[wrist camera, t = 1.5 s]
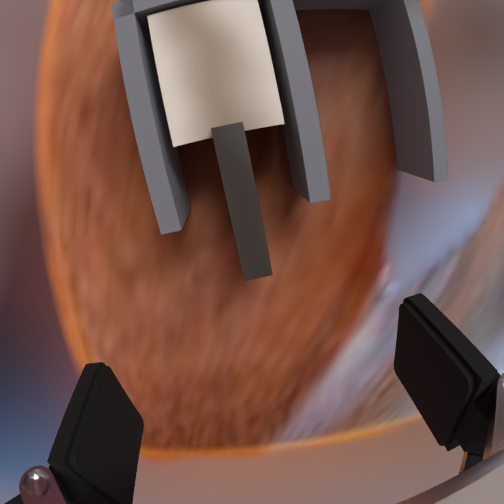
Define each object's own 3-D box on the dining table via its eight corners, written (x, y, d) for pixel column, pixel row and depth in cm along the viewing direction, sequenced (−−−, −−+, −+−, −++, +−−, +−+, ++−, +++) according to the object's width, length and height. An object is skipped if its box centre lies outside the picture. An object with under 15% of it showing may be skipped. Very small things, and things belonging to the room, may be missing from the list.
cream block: (249, 18, 17) (257, -14, 12) (292, 235, 23) (310, 266, 18) (162, 36, 17) (142, 10, 12) (211, 252, 23) (207, 288, 18)
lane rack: (378, -2, 16) (409, -24, 12) (410, 167, 22) (447, 179, 17) (134, 27, 16) (111, 3, 12) (174, 211, 22) (161, 234, 17)
